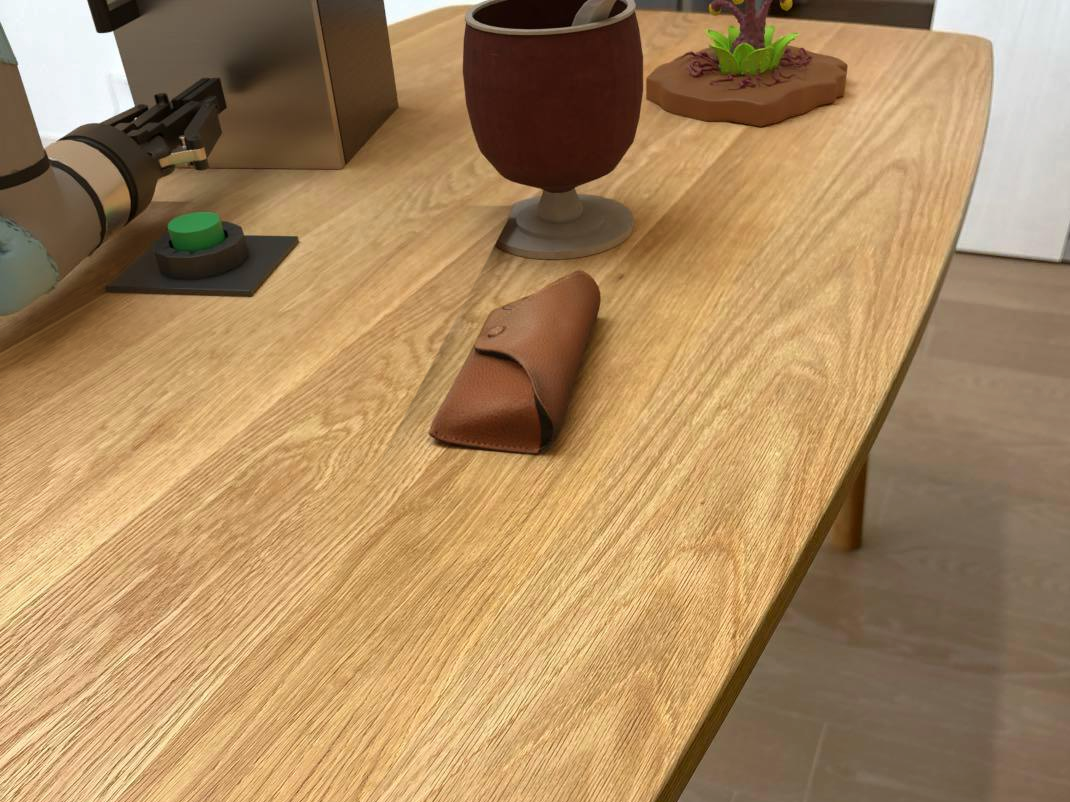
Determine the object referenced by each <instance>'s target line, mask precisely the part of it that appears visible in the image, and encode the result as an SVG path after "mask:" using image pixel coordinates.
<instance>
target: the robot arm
mask: <svg viewBox="0 0 1070 802" xmlns="http://www.w3.org/2000/svg"><path fill="white" fill-rule="evenodd" d="M28 97H29V96H28V94H27V91H26V88H25V85H24V82H23V78H22V76H21V72H20V68H19V62H18V60H17V57H16V55H15V52H14V49H13V48H12V46H11V44H10V41H9V38H8V37H7V34H6V32H5V29H4V26H3V25H2V22H1V21H0V317H5V316H10V315H14V314H16V313H19V312H20V311H22V310H24V309H25V308H27V307H29V306H30V305H31V304H33V303H34V302H35V301H37V300H39V299H40V298H42V297H43V296H44V295H49V294H50V293H51V292H52V291H54V290H55V289H56V288H57V286H58V285H59V283H61V281H63V280H64V279H65V277H67V276H68V275H69V274H70V273H71V272H72V271H73V270H74V269H75V268H76V267H77V266H78V265H79V264H81V263H82V262H83V261H84V260H85V259H87V258H90V257H91V256H92V255H93V254H94V253H95V251H96V250H97V249H99V248H100V247H101V246H102V245H103V244H105V243H106V242H107V241H108V240H109V239H111V238H112V237H114V235H116V234H117V233H118V232H120V231H121V230H122V229H123V228H125V227H126V226H128V225H129V224H130V223H131V222H132V221H134V220H135V219H136V218H137V217H138V216H139V215H141V214H142V213H143V212H144V211H145V210H146V209H148V207H149V206H150V204H151V203H152V201H153V199H154V195H155V192H156V188H157V185H158V182H159V180H160V179H162V178H165V177H167V176H170V175H172V174H173V173H174V172H175V170H176V168H175V165H178V164H183V163H186V166H187V167H192V166H193V167H194V168H193V169H194V170H195V171H199V172H200V171H205V170H208V169H210V168H209V163H208V160H207V158H208V156H209V155H210V153H211V151H212V150H213V148H214V146H215V144H216V143H217V141H218V139H219V138H220V136H221V134H222V130H221V126H220V122H219V118H218V115H219V114H220V113H221V112H222V111H224V110H225V109H226V108H227V106H226V101H225V97H224V93H223V89H222V85H221V80H220V78H211V79H210V78H202V79H200V80H199V81H197V82H196V83H195V84H193V85H192V86H190V87H189V88H187V89H186V90H185V91H183V92H182V93H180V94H179V95H177V96H176V97H175V98H173V99H172V101H170V102H169V99H168V95H167V94H166V93H159V94H156V95H154V97H155V101H156V105H154V106H153V107H152V108H150V109H148V105H143V104H139V105H137V106H135V105H134V106H133V107H131V108H129V109H126V110H124V111H122V112H120V113H118V114H116V115H114V116H111V117H110V118H107V119H105V120H103V121H101V122H91V123H86V124H82V125H79V126H77V127H76V128H74V129H72V130H71V131H70V132H68V133H67V134H65V135H64V136H62V137H60V138H59V139H57V140H56V141H55V142H52V143H50V144H48V145H47V146H45V147H44V144H43V141H42V139H41V136H40V133H39V129H38V126H37V123H36V120H35V117H34V114H33V111H32V107H31V104H30V100H29V98H28Z"/></svg>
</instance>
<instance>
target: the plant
mask: <svg viewBox="0 0 1070 802" xmlns="http://www.w3.org/2000/svg"><path fill="white" fill-rule="evenodd" d="M731 1H732V2H731ZM731 1H727V0H713V1H711V3H709V6H708V11H709V14H710V15H712V16H714V17H716V16H718V15H719V14H721V12H722V7H724V8H726V9H727V10H729V11H730V13H731V14H732V15H733V16H734V18H735V19H736V21H737V23H738V24H739V28H738V27H736V26H734V25H732V24H730V25H729V26H728V28H727V36H726V35H724V34H723V33H721V32H719V31H716V30H713V29H709V28H707V29H706V30H705V34H706V35H707V36H708V37H709V38H710V39H711V41H712V43H713V44H712V43H710V44H708V47H706V48H705V47H704V48H703V49H701V50H699V51H696V52H694V51H688V52H685V53H684V54H682V55H680V56H677V57H676V58H674V59H673V60H670V62H665V63H663V64H661V65H658V66H656V67H655V68H654V69H653V71H651V73H650V74H648V76H646V80H645V98H646V100H647V101H649V102H651V103H653V104H656V105H658V106H660V107H661V108H662V110H664V111H666V112H668V113H670V114H673V115H676V116H679V117H680V116H681V117H685V118H690V119H692V120H693V119H694V120H698V121H702V122H711V123H712V122H729V123H730V122H731V123H739V124H743V125H749V126H755V127H760V128H761V127H765V126H769V125H773V124H778V123H780V122H782V121H784V120H786V119H788V118H791V117H795V116H800V115H802V114H805V113H807V112H809V111H812V110H813V109H815V108H817V107H819V106H823V105H830V104H833V103H835V102H836V99H838V98H841V97H843V96H844V95H845V91H846V83H847V76H848V67H849V66H848V64H847V63H846V61H844V60H842V59H840V58H838V57H836V56H832V55H828V54H822V53H817V52H813V51H809V50H807V49H805V48H804V47H798V46H794V45H789V44H791V42H792V41H795V39H796V38H798V37H799V35H800V32H799V31H797V32H792V33H788V34H786V35H782V36H780V37H779V38H777V39H775V40H774V41H773V39H774V35H775V32H776V26H775V25H774V24H771V25H769V26H767V22H766V20H767V15H768V13H769V8H770V6H771V4H772V2H773V1H774V0H764V1H763V4H762V5H760V9H759V11H758V13H757V9H756V0H746V1H745V0H731ZM744 1H745V5H746V7H745V9H744V10H745V14H744V13H743V12H742V11H741V10H740V9H739V8H738V7H737V6H736V5H741V4H743V3H744ZM779 5H780V8H781V9H782V10H784V11H786V12H788V11H789V10H790V9H792V7H793V0H779ZM756 13H757V14H756ZM766 26H767V27H766Z"/></svg>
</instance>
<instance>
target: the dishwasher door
mask: <svg viewBox="0 0 1070 802" xmlns="http://www.w3.org/2000/svg"><path fill="white" fill-rule="evenodd" d="M86 2H87V5H88V8H89V11H90V16H91V18H92V22H93V25H94V28H95V32H96V33H97V34H108V33H113V36H114V39H115V43H116V46H117V50H118V53H119V57H120V60H121V63H122V68H123V71H124V74H125V77H126V81H127V85H128V88H129V92H130V95H131V98H132V102H133V105H134V107H135V106H137V105H139V104H143V105H148V109H150V108H152V107H153V106H154V105H156V101H155V97H154V95H156V94H159V93H166V94H167V95H168V99H169V102H170V101H172V99H173V98H175V97H176V96H177V95H179V94H180V93H182V92H183V91H185V90H186V89H187V88H189V87H190V86H192V85H193V84H195V83H196V82H197V81H199V80H200V79H202V78H210V79H211V78H220V80H221V85H222V89H223V93H224V97H225V101H226V106H227V108H226V109H225V110H224V111H222V112H221V113H220V114H219V115H218V118H219V122H220V126H221V130H222V134H221V136H220V138H219V139H218V141H217V143H216V144H215V146H214V148H213V150H212V151H211V153H210V155H209V156H208V158H207V160H208V163H209V168H208V169H279V170H281V169H282V170H283V169H284V170H285V169H287V170H288V169H289V170H290V169H291V170H293V169H294V170H295V169H297V170H301V169H302V170H342V169H343V168H344V167H345V166H346V165H345V160H344V154H343V149H342V143H341V137H340V132H339V126H338V120H337V115H336V109H335V103H334V98H333V92H332V86H331V81H330V75H329V69H328V64H327V58H326V52H325V47H324V41H323V35H322V30H321V24H320V19H319V13H318V7H317V2H316V0H86ZM178 168H180V169H182V168H184V169H185V168H187V169H190V168H191V169H194V167H193V166H192V167H187V166H186V163H183V164H178V165H175V169H178Z"/></svg>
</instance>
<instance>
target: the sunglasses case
mask: <svg viewBox="0 0 1070 802" xmlns="http://www.w3.org/2000/svg"><path fill="white" fill-rule="evenodd" d="M601 297H602V295H601V291H600V287H599V285H598V283H597V282H596V280H595V279H594V278H593V277H592V275H590V274H589V273H588V272H586V271H584V270H580V269H578V270H575V271H573V272H572V271H571V273H568V274H566V275H563V276H561V277H559V278H558V279H556V280H554V281H552V282H550V283H548V284H547V285H545V286H544V287H542V288H540V289H538V290H537V291H536V292H534V293H532V294H530V295H527V296H524V297H522V298H519V299H517V300H514V301H511V302H508V303H506V304H504V305H500V306H498V307H496V308H494V309H492V310H491V311H490V312H489V314H488V316H487V317H486V319H485V321H484V322H483V325H482V327H481V328H480V331H479V333H478V335H477V338H476V340H475V341H474V344H473V345H472V347H471V349H470V351H469V353H468V355H467V357H466V359H465V361H464V363H463V365H462V367H461V369H460V370H459V372H458V374H457V376H456V377H455V379H454V381H453V383H452V384H451V387H450V389H449V391H448V392H447V394H446V396H445V398H444V400H443V401H442V403H441V405H440V407H439V408H438V409H437V412H436V414H435V416H434V417H433V420H432V421H431V424H430V427H429V431H428V436H430V437H431V438H433V439H435V440H436V441H438V442H441V443H447V444H451V445H456V446H459V447H460V446H461V447H465V448H471V449H477V450H485V451H494V452H502V453H503V452H504V453H515V454H524V455H525V454H531V455H539V454H541V453H543V452H545V451H547V450H548V449H550V448H551V447H552V446H553V444H554V443H555V442H556V440H557V439H558V437H559V433H560V431H561V428H562V425H563V423H564V419H565V415H566V412H567V409H568V406H569V405H568V404H569V401H570V400H571V399H570V398H571V396H572V392H573V390H574V386H575V384H576V381H577V377H578V374H579V371H580V368H581V365H582V361H583V359H584V354H585V352H586V349H587V346H588V343H589V339H590V337H591V335H592V331H593V328H594V325H595V323H596V320H597V319H598V316H599V312H600V307H601V302H602V301H601V299H602V298H601Z"/></svg>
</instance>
